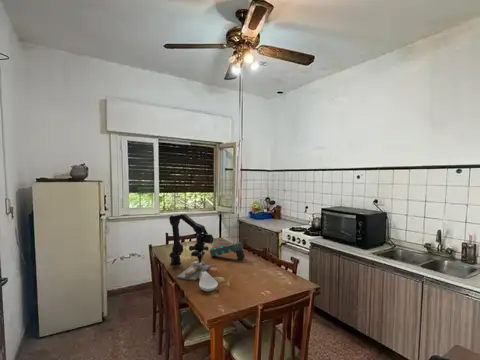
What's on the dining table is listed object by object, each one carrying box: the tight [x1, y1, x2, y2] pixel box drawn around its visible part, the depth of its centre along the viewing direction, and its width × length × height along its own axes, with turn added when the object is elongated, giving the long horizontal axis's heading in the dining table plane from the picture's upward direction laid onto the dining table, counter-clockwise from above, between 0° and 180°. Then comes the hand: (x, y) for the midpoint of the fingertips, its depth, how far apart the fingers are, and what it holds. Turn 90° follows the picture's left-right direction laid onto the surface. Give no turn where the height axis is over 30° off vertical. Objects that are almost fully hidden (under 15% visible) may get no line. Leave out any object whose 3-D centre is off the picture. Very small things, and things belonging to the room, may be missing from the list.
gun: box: [209, 241, 246, 261], centre depth 228 cm, size 7×29×15 cm, turn 74°
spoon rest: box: [198, 271, 219, 292], centre depth 171 cm, size 24×12×7 cm, turn 22°
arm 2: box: [187, 262, 203, 277], centre depth 191 cm, size 22×1×2 cm, turn 163°
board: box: [176, 264, 212, 281], centre depth 194 cm, size 14×28×1 cm, turn 164°
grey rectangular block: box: [191, 261, 202, 270], centre depth 197 cm, size 3×6×5 cm, turn 74°
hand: (200, 262), depth 202 cm, fingers closed
